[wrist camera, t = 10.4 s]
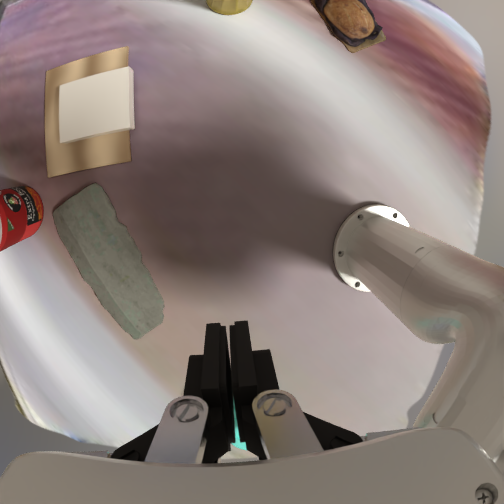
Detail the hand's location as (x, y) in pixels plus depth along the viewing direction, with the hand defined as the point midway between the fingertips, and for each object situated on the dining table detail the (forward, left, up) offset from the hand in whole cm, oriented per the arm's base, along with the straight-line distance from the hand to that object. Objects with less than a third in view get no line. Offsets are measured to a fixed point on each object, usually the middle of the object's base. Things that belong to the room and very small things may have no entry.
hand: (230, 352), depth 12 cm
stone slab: (+16, +5, -28) cm, 33 cm away
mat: (+18, -17, -27) cm, 37 cm away
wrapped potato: (-18, -29, -28) cm, 44 cm away
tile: (+11, -17, -26) cm, 33 cm away
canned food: (+30, -5, -27) cm, 41 cm away
